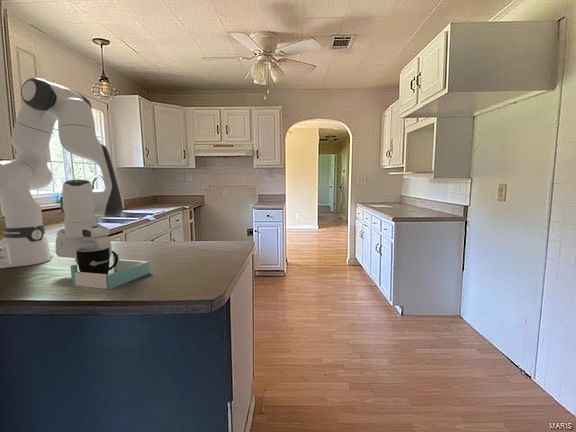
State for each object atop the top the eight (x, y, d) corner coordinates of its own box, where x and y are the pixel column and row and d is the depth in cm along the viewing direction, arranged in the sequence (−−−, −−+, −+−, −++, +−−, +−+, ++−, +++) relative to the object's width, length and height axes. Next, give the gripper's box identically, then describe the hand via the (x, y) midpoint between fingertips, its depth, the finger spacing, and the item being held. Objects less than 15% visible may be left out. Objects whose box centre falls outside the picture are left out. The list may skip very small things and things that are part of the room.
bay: (72, 285, 98) (70, 265, 98) (116, 270, 115) (115, 253, 114) (109, 289, 94) (107, 269, 94) (150, 273, 111) (149, 255, 110)
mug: (87, 285, 98) (84, 252, 97) (73, 280, 103) (70, 249, 102) (125, 275, 108) (124, 245, 107) (111, 271, 113) (109, 242, 112)
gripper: (47, 230, 106) (51, 271, 108) (97, 232, 100) (100, 276, 102) (66, 227, 112) (69, 266, 114) (113, 229, 106) (116, 270, 108)
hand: (84, 271), depth 108 cm, fingers closed
